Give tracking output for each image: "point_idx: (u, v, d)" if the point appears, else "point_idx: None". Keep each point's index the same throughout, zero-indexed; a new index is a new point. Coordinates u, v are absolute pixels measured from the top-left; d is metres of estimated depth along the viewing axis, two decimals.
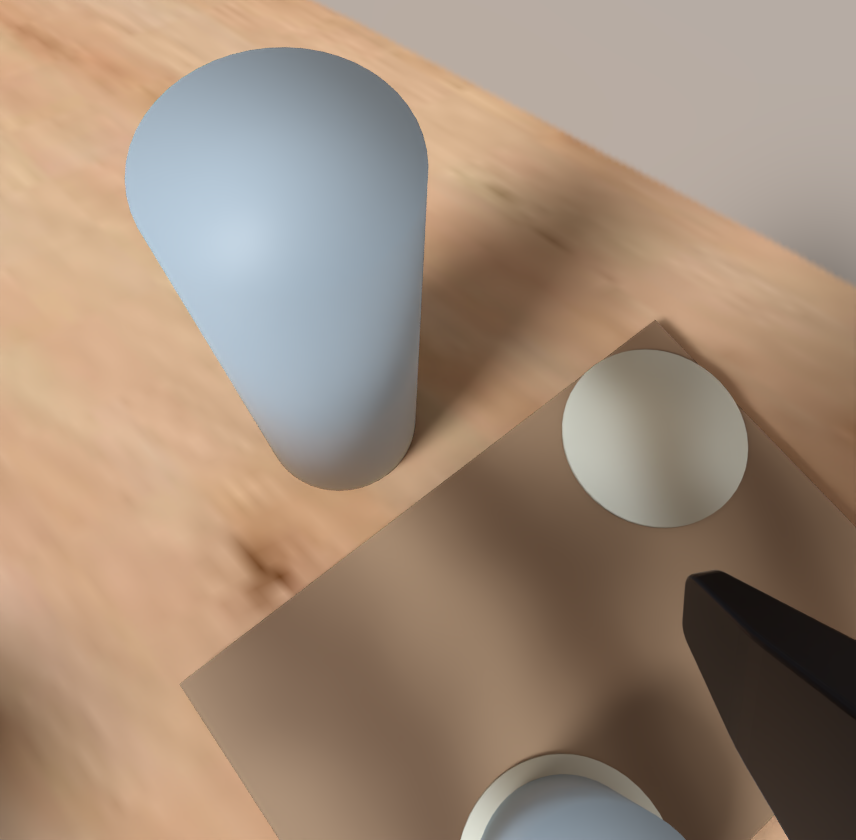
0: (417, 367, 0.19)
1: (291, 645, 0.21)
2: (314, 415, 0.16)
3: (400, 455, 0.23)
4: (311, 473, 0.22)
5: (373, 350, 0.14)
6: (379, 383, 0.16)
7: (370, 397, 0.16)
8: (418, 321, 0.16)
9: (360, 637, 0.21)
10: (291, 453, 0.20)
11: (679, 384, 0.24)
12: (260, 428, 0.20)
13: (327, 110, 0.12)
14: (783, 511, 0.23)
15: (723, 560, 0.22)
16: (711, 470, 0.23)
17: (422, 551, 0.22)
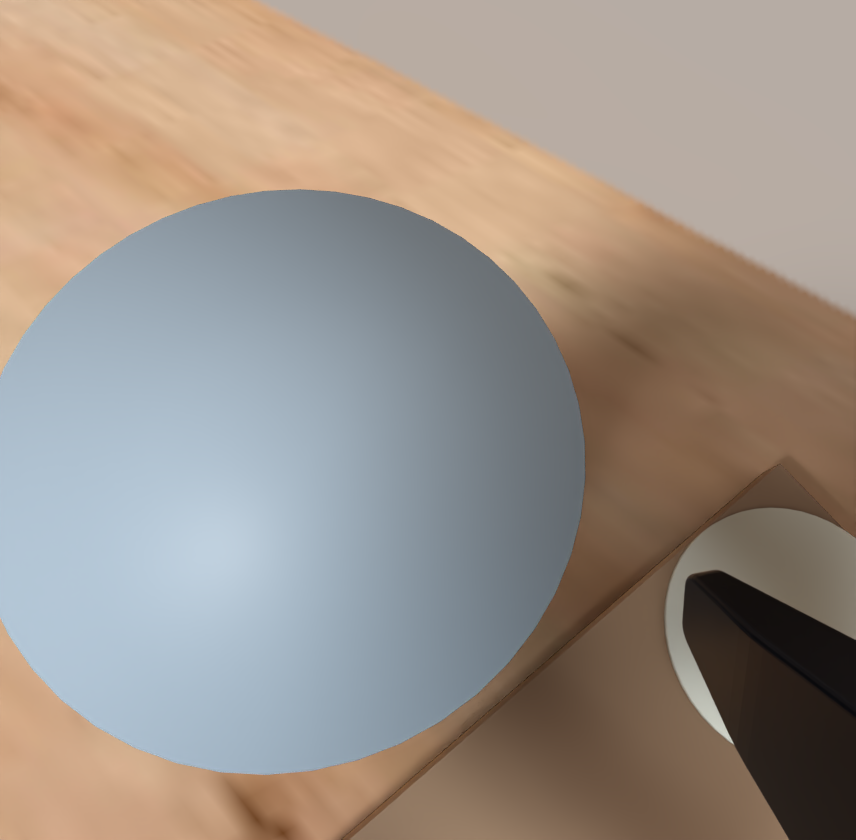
0: None
1: None
2: None
3: None
4: None
5: None
6: None
7: None
8: None
9: None
10: None
11: (819, 558, 0.18)
12: None
13: (381, 320, 0.06)
14: None
15: None
16: None
17: (480, 808, 0.16)
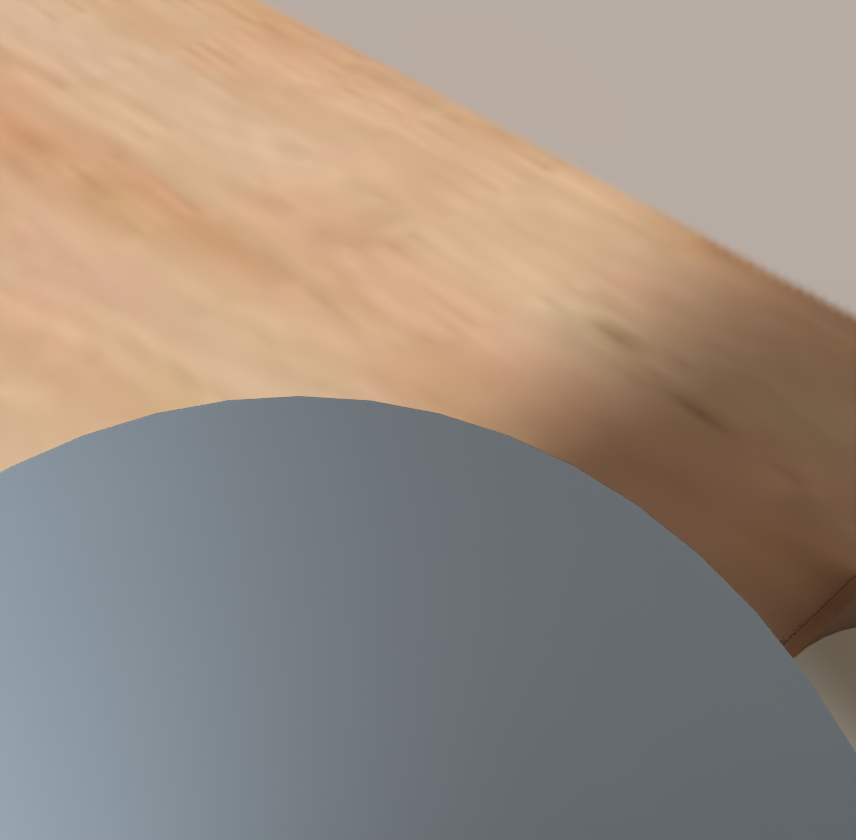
0: None
1: None
2: None
3: None
4: None
5: None
6: None
7: None
8: None
9: None
10: None
11: None
12: None
13: (477, 717, 0.03)
14: None
15: None
16: None
17: None
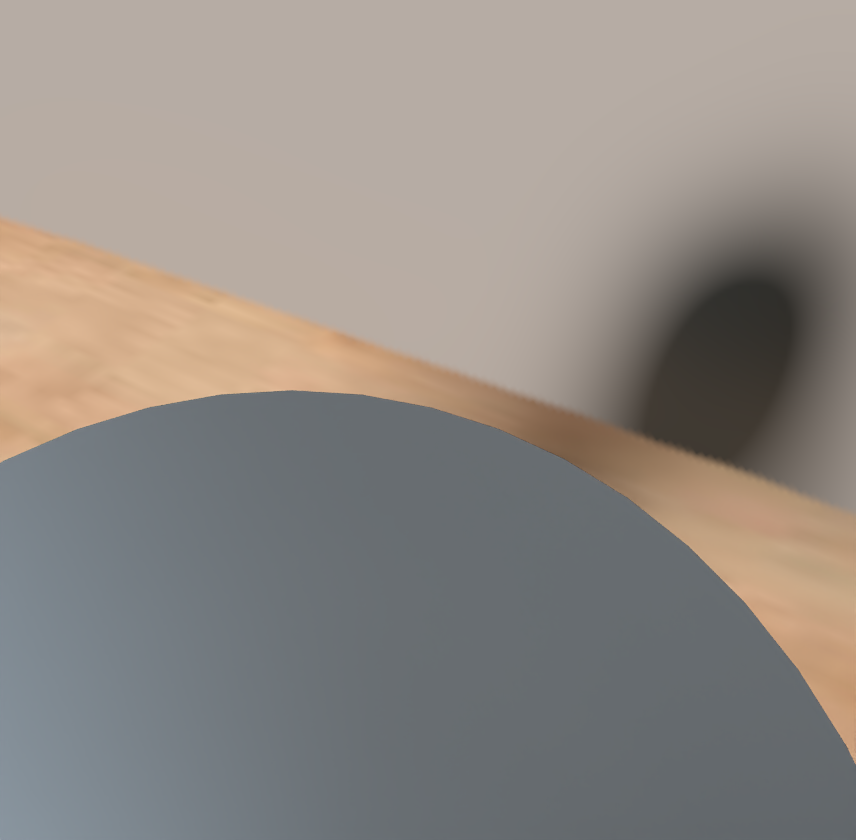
0: None
1: None
2: None
3: None
4: None
5: None
6: None
7: None
8: None
9: None
10: None
11: None
12: None
13: (467, 709, 0.03)
14: None
15: None
16: None
17: None
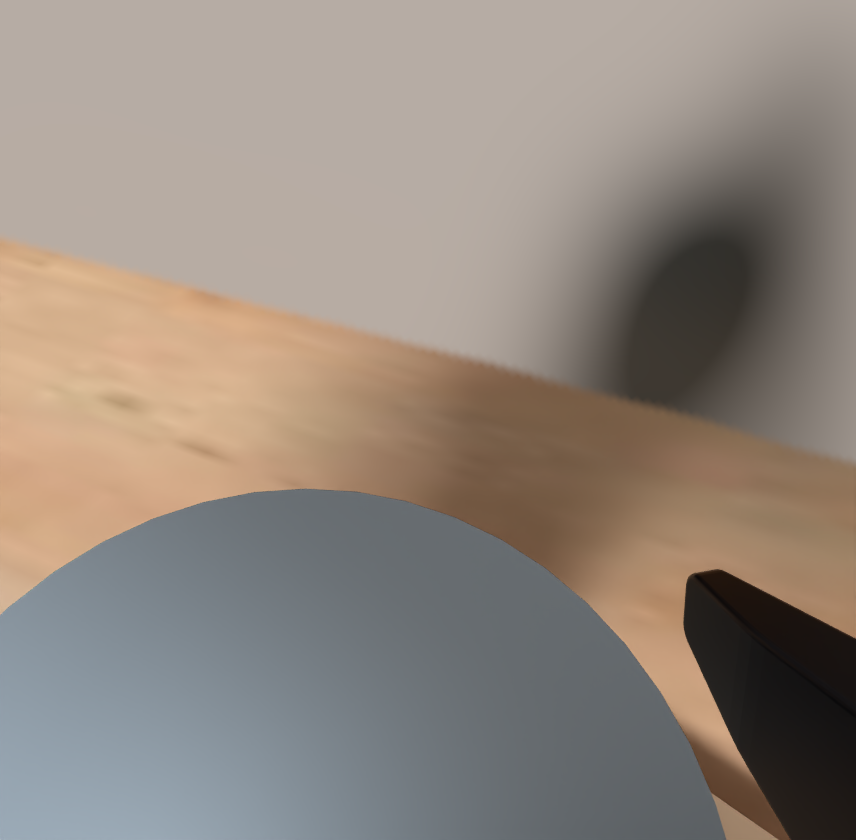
0: None
1: None
2: None
3: None
4: None
5: None
6: None
7: None
8: None
9: None
10: None
11: None
12: None
13: (428, 718, 0.04)
14: None
15: None
16: None
17: None
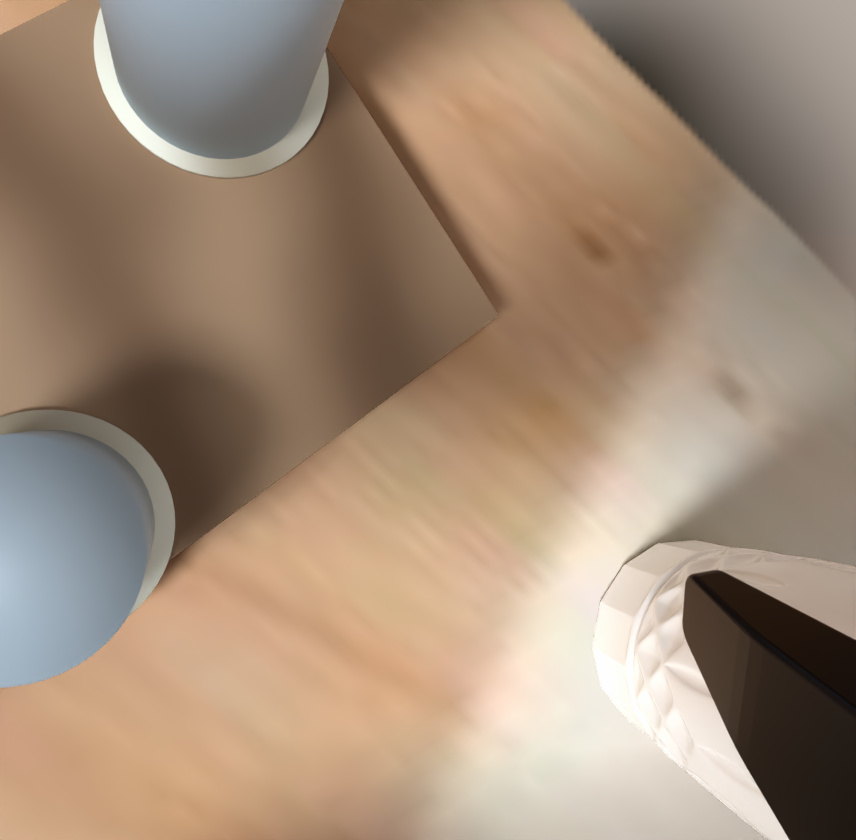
0: (334, 21, 0.15)
1: None
2: None
3: (269, 140, 0.19)
4: (152, 106, 0.17)
5: None
6: None
7: (264, 10, 0.12)
8: None
9: None
10: (134, 60, 0.15)
11: None
12: (102, 6, 0.15)
13: None
14: (355, 178, 0.20)
15: (277, 222, 0.20)
16: None
17: None
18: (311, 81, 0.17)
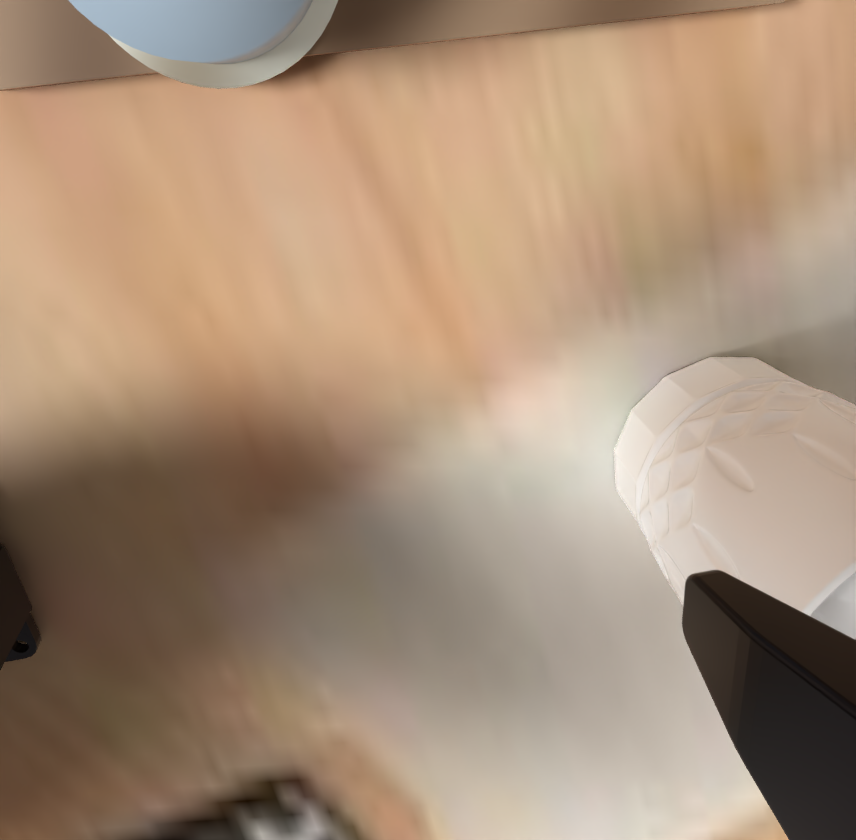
0: None
1: None
2: None
3: None
4: None
5: None
6: None
7: None
8: None
9: None
10: None
11: None
12: None
13: None
14: None
15: None
16: None
17: None
18: None
